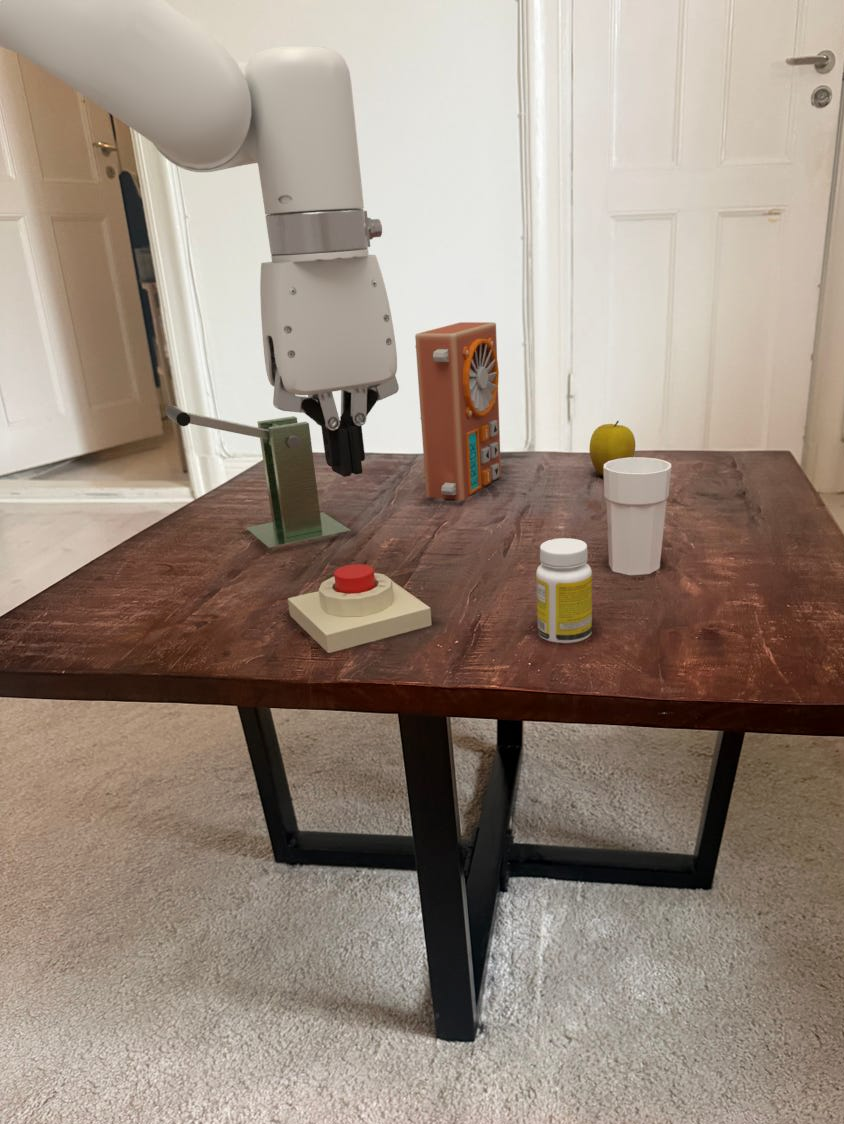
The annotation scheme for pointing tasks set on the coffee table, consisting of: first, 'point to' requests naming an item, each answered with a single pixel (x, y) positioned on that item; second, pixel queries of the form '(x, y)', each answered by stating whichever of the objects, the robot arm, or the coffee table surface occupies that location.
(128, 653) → the coffee table surface
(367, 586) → the button
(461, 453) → the control panel
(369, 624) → the button block
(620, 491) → the cup
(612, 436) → the apple
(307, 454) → the bracket
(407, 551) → the coffee table surface
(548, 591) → the supplement bottle
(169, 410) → the lever
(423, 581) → the coffee table surface
